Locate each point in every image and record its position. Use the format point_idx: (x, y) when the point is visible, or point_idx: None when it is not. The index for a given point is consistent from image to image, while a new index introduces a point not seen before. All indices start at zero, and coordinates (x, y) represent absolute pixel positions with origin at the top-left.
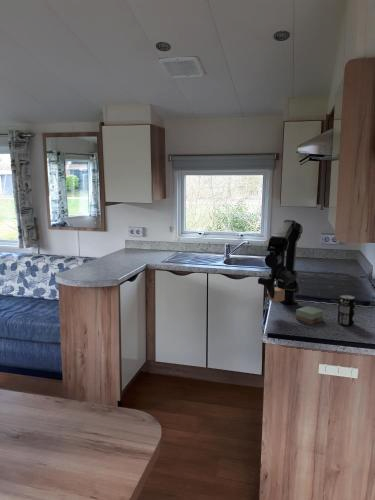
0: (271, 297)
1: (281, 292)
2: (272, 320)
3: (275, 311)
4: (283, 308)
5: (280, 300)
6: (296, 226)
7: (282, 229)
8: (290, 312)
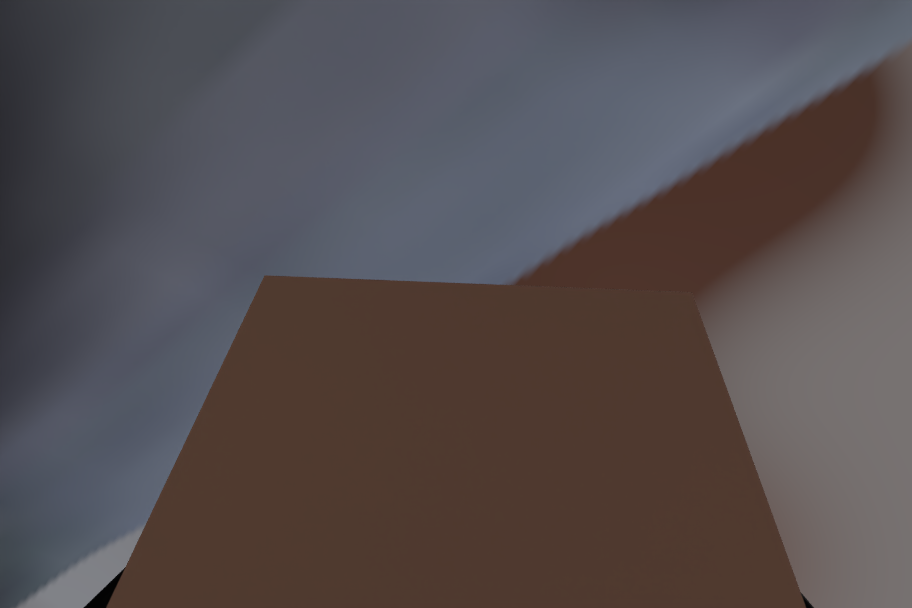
0: None
1: (407, 571)
2: (797, 31)
3: None
4: (50, 360)
5: (481, 300)
6: None
7: None
8: (55, 149)
